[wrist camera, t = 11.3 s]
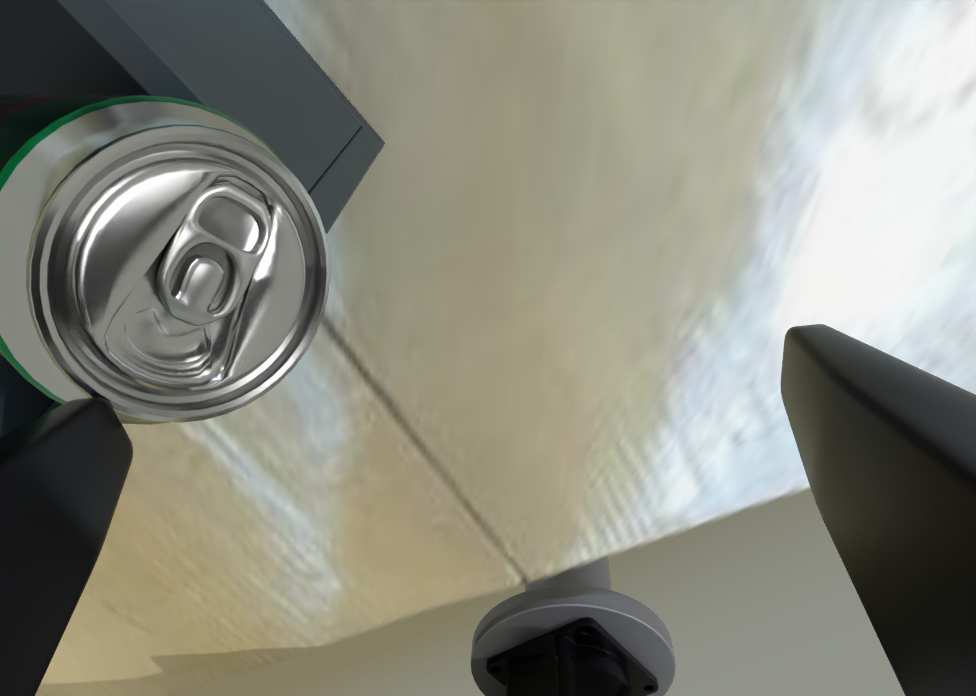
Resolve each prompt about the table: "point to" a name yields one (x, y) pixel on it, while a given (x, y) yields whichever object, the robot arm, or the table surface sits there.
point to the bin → (186, 94)
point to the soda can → (152, 255)
